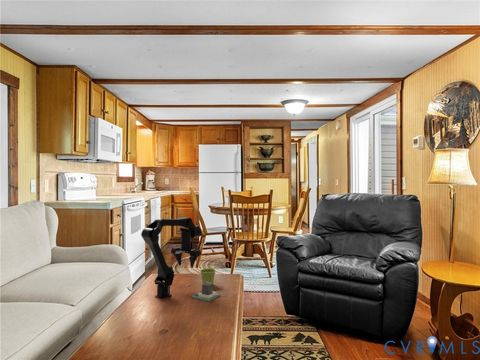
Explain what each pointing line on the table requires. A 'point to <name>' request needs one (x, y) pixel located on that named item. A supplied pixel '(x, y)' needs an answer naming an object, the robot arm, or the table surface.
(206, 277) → the plant pot
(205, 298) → the board
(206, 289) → the plug
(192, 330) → the table surface
